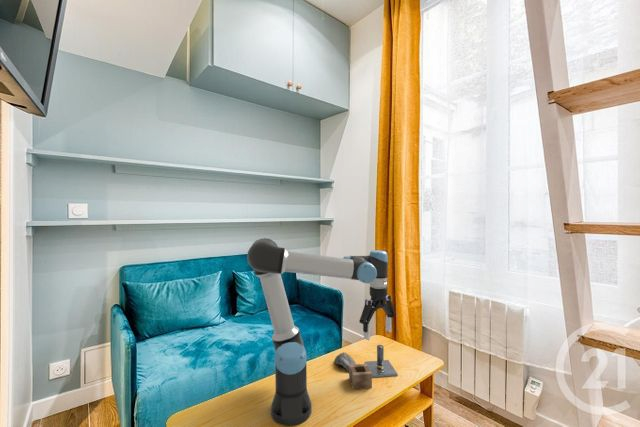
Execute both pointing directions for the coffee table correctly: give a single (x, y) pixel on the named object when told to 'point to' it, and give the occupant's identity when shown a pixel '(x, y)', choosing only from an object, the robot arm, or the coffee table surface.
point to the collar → (360, 376)
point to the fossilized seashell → (344, 360)
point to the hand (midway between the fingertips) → (377, 335)
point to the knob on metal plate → (381, 365)
